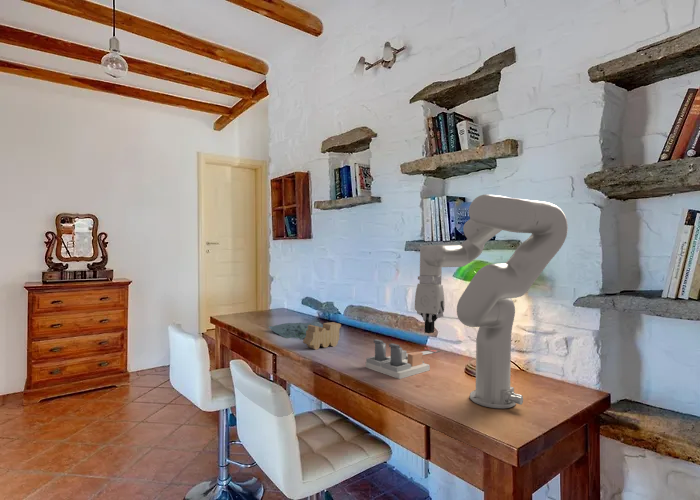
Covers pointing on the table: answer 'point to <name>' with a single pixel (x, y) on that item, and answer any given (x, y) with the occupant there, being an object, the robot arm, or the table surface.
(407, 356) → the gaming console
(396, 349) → the peg
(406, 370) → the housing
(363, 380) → the table surface
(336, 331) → the toy train
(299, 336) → the terrain model
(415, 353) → the latch bar
